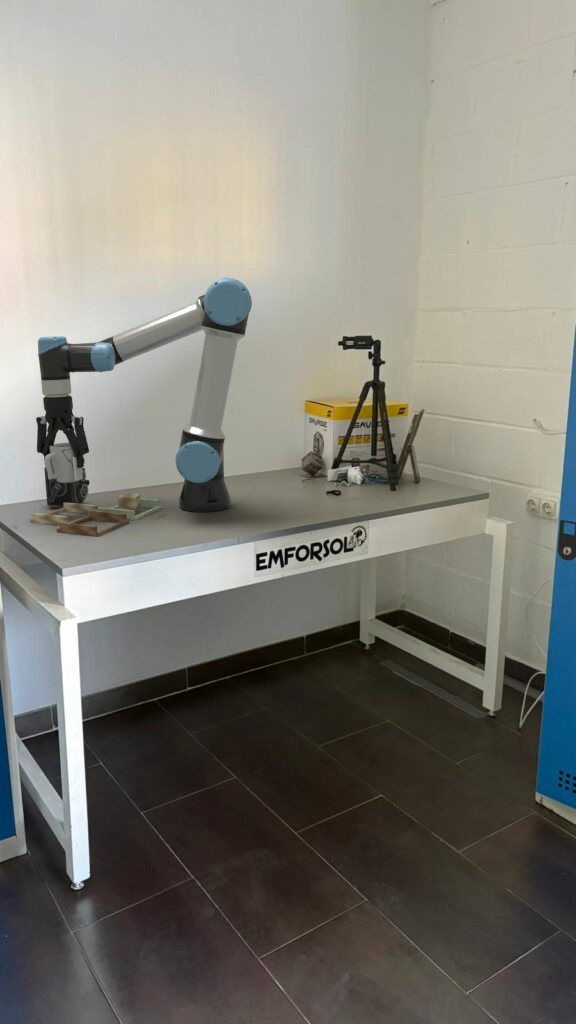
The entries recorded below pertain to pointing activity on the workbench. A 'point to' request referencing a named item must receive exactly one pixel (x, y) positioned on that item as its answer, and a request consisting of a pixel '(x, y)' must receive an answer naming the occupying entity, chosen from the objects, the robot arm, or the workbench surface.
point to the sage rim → (130, 513)
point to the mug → (61, 462)
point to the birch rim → (55, 519)
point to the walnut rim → (92, 530)
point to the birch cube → (130, 502)
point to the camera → (65, 491)
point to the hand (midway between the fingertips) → (65, 478)
